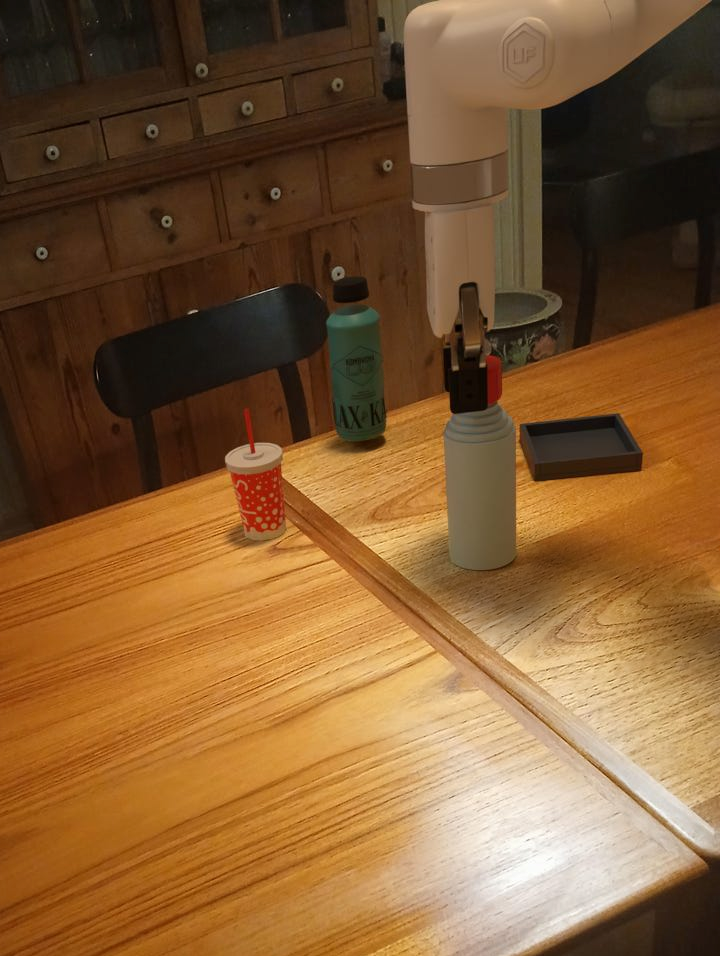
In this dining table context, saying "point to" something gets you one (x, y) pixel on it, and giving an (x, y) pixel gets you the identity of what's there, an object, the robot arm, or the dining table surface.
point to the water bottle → (481, 488)
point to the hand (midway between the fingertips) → (465, 398)
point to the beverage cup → (258, 486)
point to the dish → (580, 447)
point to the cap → (494, 378)
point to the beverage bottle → (356, 363)
